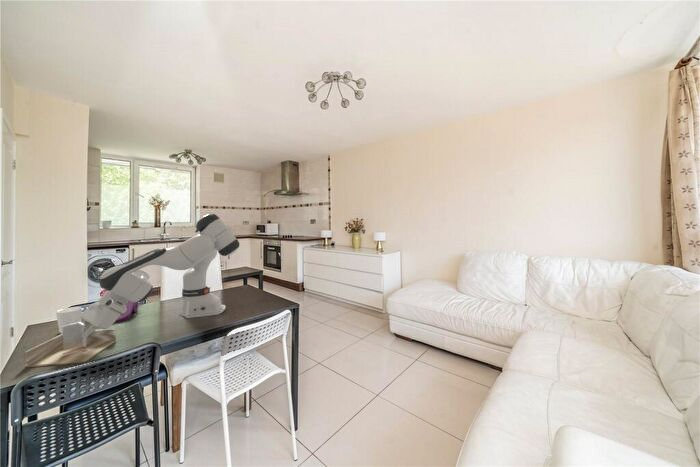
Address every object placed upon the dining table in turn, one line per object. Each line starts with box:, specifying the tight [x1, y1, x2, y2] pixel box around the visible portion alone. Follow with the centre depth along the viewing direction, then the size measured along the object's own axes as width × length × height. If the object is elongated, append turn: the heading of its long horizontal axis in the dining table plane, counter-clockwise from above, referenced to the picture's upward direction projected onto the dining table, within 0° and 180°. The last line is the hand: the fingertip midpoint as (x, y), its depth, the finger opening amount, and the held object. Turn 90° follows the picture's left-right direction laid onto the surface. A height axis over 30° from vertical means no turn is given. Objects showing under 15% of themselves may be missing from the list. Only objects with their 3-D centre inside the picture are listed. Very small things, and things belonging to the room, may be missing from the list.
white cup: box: [55, 306, 83, 334], centre depth 117 cm, size 8×8×10 cm
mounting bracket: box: [113, 301, 139, 324], centre depth 134 cm, size 9×8×18 cm
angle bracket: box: [61, 321, 86, 349], centre depth 97 cm, size 5×5×9 cm
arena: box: [23, 328, 117, 368], centre depth 98 cm, size 18×16×6 cm
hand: (80, 334), depth 99 cm, fingers closed on angle bracket, 5 cm apart
